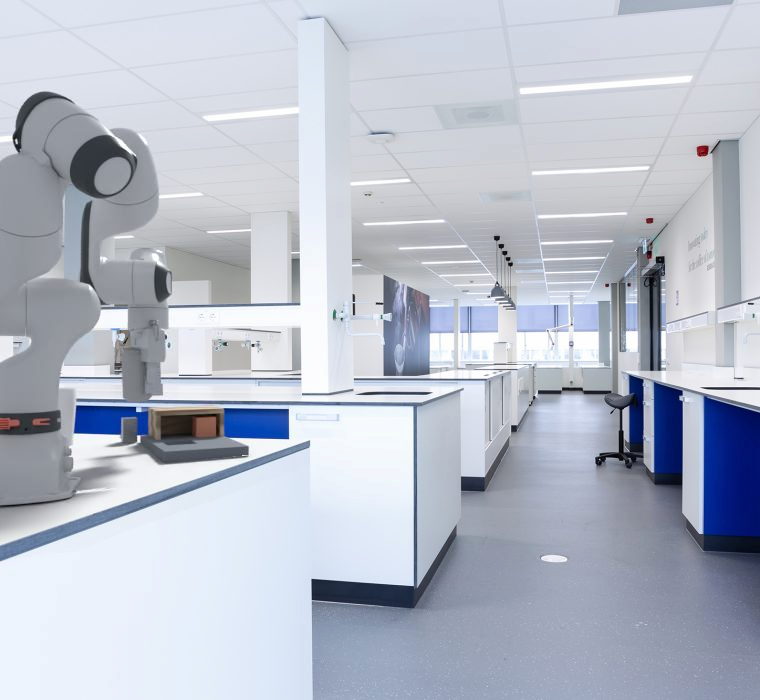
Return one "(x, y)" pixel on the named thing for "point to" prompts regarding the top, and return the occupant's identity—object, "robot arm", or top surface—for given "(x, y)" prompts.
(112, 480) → the top surface
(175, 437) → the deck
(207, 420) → the cube
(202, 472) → the top surface
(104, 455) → the top surface
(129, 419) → the mallet
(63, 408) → the drinking glass
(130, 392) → the beverage can
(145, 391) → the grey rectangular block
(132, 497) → the top surface
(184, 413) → the cubby
